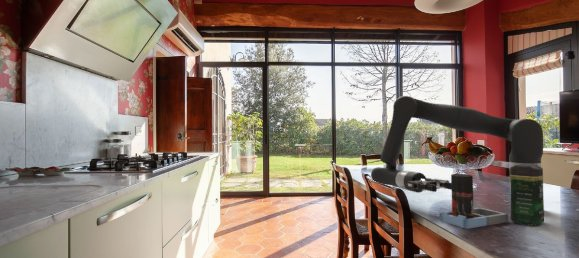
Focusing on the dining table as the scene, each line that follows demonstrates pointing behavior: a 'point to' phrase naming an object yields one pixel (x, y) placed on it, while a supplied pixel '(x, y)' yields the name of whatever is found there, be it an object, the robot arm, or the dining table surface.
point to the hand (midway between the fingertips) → (445, 187)
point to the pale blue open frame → (475, 218)
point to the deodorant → (462, 195)
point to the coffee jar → (527, 194)
